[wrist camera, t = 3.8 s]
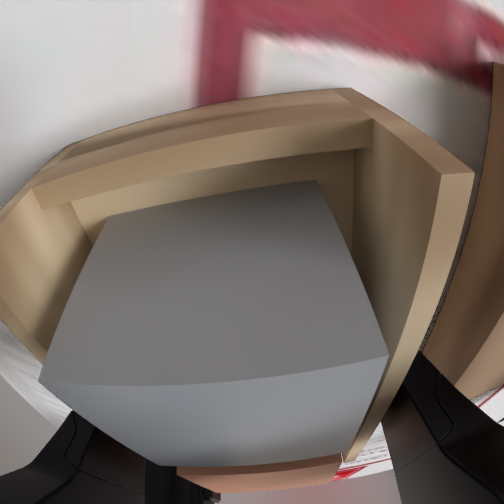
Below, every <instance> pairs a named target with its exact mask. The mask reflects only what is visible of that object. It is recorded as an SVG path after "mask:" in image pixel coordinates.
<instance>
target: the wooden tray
mask: <svg viewBox="0 0 504 504" xmlns="http://www.w3.org/2000/svg"><path fill="white" fill-rule="evenodd" d="M474 176H475V172H474V171H473V170H472V169H470V168H469V167H468V166H467V165H465V164H464V163H463V162H462V161H461V160H459V159H458V158H457V157H455V156H454V155H453V154H452V153H450V152H449V151H448V150H446V149H445V148H444V147H442V146H441V145H440V144H438V143H437V142H436V141H434V140H433V139H432V138H430V137H429V136H427V135H426V134H425V133H423V132H422V131H420V130H419V129H417V128H416V127H414V126H413V125H411V124H410V123H408V122H407V121H405V120H404V119H402V118H401V117H399V116H398V115H396V114H395V113H393V112H391V111H390V110H388V109H387V108H385V107H383V106H382V105H380V104H378V103H377V102H375V101H373V100H372V99H370V98H368V97H366V96H365V95H363V94H361V93H359V92H358V91H356V90H354V89H352V88H339V89H323V90H310V91H300V92H290V93H281V94H273V95H266V96H259V97H252V98H245V99H239V100H233V101H228V102H222V103H217V104H212V105H207V106H202V107H197V108H193V109H188V110H184V111H179V112H175V113H171V114H167V115H163V116H159V117H155V118H151V119H148V120H144V121H140V122H137V123H133V124H130V125H127V126H123V127H120V128H117V129H114V130H111V131H107V132H104V133H101V134H98V135H95V136H92V137H90V138H87V139H84V140H81V141H78V142H76V143H73V144H70V145H68V146H66V147H65V148H64V149H62V150H61V151H60V152H59V153H58V154H57V155H56V156H55V157H53V158H52V159H51V160H50V161H49V162H48V163H47V164H46V165H45V166H44V167H43V168H41V169H40V170H39V171H38V172H37V173H36V174H35V175H34V176H33V177H32V178H31V179H30V180H29V181H28V182H27V183H26V184H25V185H24V186H23V187H22V188H21V189H20V190H19V191H18V192H17V193H16V194H15V195H14V196H13V198H12V199H11V200H10V201H9V202H8V203H7V204H6V205H5V206H4V207H3V208H2V210H1V211H0V319H1V320H2V321H3V322H4V323H5V325H6V326H7V327H8V328H9V329H10V330H11V332H12V333H13V334H14V335H15V336H16V337H17V338H18V339H19V340H20V341H21V343H22V344H23V345H24V346H25V347H26V348H27V349H28V350H29V351H30V352H31V353H32V354H33V355H34V356H35V357H36V358H37V359H38V360H39V361H40V362H41V363H42V364H44V361H45V358H46V356H47V353H48V350H49V347H50V344H51V342H52V339H53V336H54V334H55V331H56V329H57V326H58V324H59V321H60V319H61V316H62V314H63V311H64V309H65V306H66V304H67V302H68V299H69V297H70V295H71V292H72V290H73V288H74V286H75V283H76V281H77V279H78V277H79V275H80V273H81V270H82V268H83V266H84V264H85V262H86V260H87V258H88V256H89V254H90V252H91V250H92V248H93V246H94V244H95V242H96V240H97V238H98V236H99V234H100V232H101V231H102V229H103V227H104V225H105V223H106V221H107V219H108V218H109V216H111V215H116V214H120V213H125V212H129V211H134V210H138V209H143V208H148V207H153V206H158V205H162V204H167V203H173V202H178V201H183V200H188V199H193V198H199V197H204V196H210V195H216V194H221V193H227V192H233V191H239V190H245V189H252V188H258V187H265V186H271V185H278V184H285V183H292V182H299V181H307V180H315V179H316V181H317V183H318V185H319V187H320V189H321V191H322V193H323V195H324V197H325V199H326V201H327V204H328V206H329V208H330V210H331V212H332V214H333V216H334V219H335V221H336V223H337V225H338V227H339V230H340V232H341V234H342V236H343V239H344V241H345V243H346V245H347V248H348V250H349V252H350V255H351V257H352V259H353V262H354V264H355V266H356V269H357V271H358V274H359V276H360V279H361V281H362V284H363V286H364V288H365V291H366V293H367V296H368V299H369V301H370V304H371V306H372V309H373V311H374V314H375V317H376V319H377V322H378V325H379V328H380V330H381V333H382V336H383V339H384V341H385V344H386V347H387V350H388V353H389V358H388V360H387V363H386V366H385V368H384V371H383V374H382V376H381V379H380V381H379V384H378V386H377V389H376V391H375V393H374V396H373V398H372V400H371V403H370V405H369V407H368V410H367V412H366V414H365V416H364V419H363V421H362V423H361V425H360V427H359V429H358V431H357V433H356V436H355V438H354V440H353V442H352V444H351V446H350V448H349V450H348V452H343V453H342V456H343V462H344V463H346V462H351V461H355V460H356V458H357V457H358V455H359V454H360V452H361V451H362V449H363V448H364V446H365V445H366V443H367V442H368V440H369V439H370V437H371V435H372V434H373V432H374V431H375V429H376V427H377V426H378V424H379V423H380V421H381V419H382V418H383V416H384V414H385V413H386V411H387V409H388V407H389V406H390V404H391V402H392V400H393V398H394V397H395V395H396V393H397V391H398V389H399V387H400V386H401V384H402V382H403V380H404V378H405V376H406V374H407V372H408V370H409V368H410V366H411V364H412V362H413V360H414V358H415V356H416V354H417V352H418V349H419V347H420V345H421V343H422V341H423V338H424V336H425V334H426V331H427V329H428V327H429V324H430V322H431V320H432V317H433V315H434V312H435V310H436V307H437V305H438V302H439V299H440V297H441V294H442V291H443V289H444V286H445V283H446V280H447V277H448V274H449V271H450V268H451V265H452V262H453V259H454V256H455V253H456V249H457V246H458V243H459V239H460V236H461V232H462V228H463V225H464V221H465V217H466V213H467V209H468V204H469V200H470V196H471V191H472V186H473V181H474Z"/></svg>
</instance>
